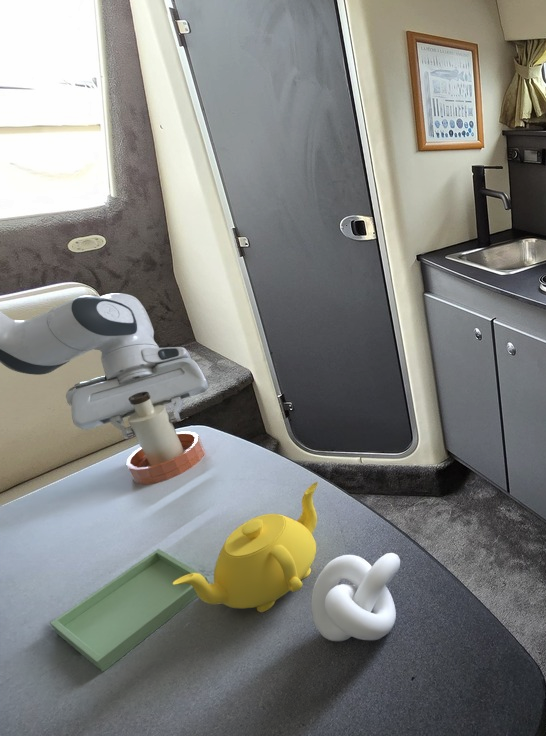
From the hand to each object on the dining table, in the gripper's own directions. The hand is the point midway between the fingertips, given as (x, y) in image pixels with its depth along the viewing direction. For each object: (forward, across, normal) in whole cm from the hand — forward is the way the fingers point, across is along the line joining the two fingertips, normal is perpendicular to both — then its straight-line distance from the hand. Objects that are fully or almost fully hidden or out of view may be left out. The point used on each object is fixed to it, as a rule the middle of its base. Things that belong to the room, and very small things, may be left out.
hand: (153, 428), depth 97 cm
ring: (+7, 0, +8) cm, 10 cm away
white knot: (+50, +20, -35) cm, 65 cm away
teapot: (+39, +12, -24) cm, 47 cm away
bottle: (+6, 0, +7) cm, 10 cm away
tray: (+32, -5, -17) cm, 37 cm away
